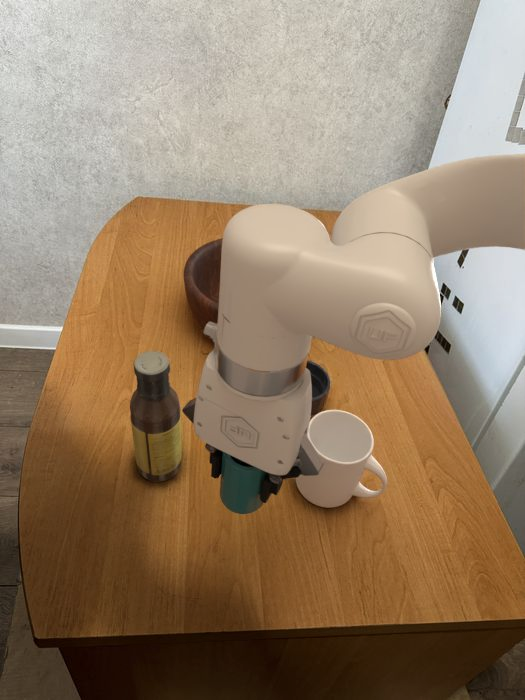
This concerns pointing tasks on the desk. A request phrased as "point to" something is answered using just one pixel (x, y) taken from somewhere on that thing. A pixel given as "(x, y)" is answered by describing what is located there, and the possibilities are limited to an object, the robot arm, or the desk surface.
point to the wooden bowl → (204, 282)
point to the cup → (240, 485)
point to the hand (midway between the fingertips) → (244, 478)
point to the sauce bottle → (155, 418)
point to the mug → (340, 459)
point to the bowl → (318, 386)
